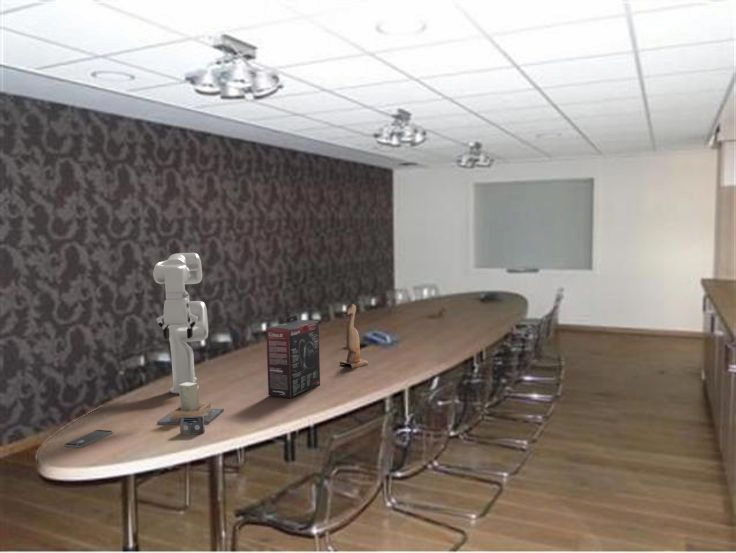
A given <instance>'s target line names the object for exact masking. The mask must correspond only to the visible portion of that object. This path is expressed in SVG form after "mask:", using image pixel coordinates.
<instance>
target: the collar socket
mask: <svg viewBox="0 0 736 553" xmlns="http://www.w3.org/2000/svg"><path fill="white" fill-rule="evenodd" d="M211 404H212V403H211V402H199V407H200V409H199V410H198V411H181V405H180V404H179V405H178V406H177V407H174V409H172V410H171V411H170V412H169V413H167V414H166V415H164V416H163V417H161V418H160V419H158V420H157V421H156V423H157V425H180V417H192V416H204V425H209V424H210V423H212V422H213V421H214V420H215V419H216V418H218V417H219V416H220V415H221V414H222V413H223V412H224V411H225V409H224V408H212V405H211Z"/></svg>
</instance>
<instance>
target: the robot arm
mask: <svg viewBox="0 0 736 553" xmlns="http://www.w3.org/2000/svg"><path fill="white" fill-rule="evenodd" d="M202 267H203V266H202V261H201V257H200V255H199V254H198V253H196V252H180V253H179V252H178V253H177V252H176V253H173V254H171V255H169V257H168V259H166V260H163V261H159V262H157V263H156V264H154V268H153V274H152V276H153V279H154V281H155V283H157V284H161V285H162V284H164V285H165V300H164V304H163V314H162V315H160V316H158V317H156V322H157V323H158V326H160V328H161V329H162V331H163V337H164V339H165V340H169V345H170V353H171V354H170V355H171V367H172V368H171V370H172V387H171V388H170V389H169V392H170V393H171V394H174V395H175V394H176V395H178V394H179V384H182V383H186V382H191V383H196V381H198V378H197V377H196V374H195V359H194V350H193V348H192V347H191V345H190V344H188V343H189V342H199V341H200V342H201V341H205V340H206V339H207V338H208V337H209V323H208V322H209V321H208V320H209V319H208V310H207V306H206V303H205V302H204V301H201V300H194V301H193V300H190V294H189V293H188V291H187V290H186V286H185V285H196V284H200V283H201V282H202V279H203V268H202ZM162 320H163V321H162ZM199 389H200V386H199V385H198V390H199ZM179 395H180V394H179Z"/></svg>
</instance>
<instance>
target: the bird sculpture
mask: <svg viewBox="0 0 736 553" xmlns="http://www.w3.org/2000/svg"><path fill="white" fill-rule="evenodd" d="M356 312H357V306H356V304H354V303H352V304H351V305H350V307H349V308H348V309H347V311H346V316H349V319H348V322H347V326H346V333H345V335H346V337H345V339H346V342H345V343H346V349H347V351H348V352H347V356H346V360H345V359H344V360H341V361H339V365H340V366H342V365H346V364H348V365H350V366H351V369H355V368H360V367H364V366H369V361H368V360H367V359H363V358H361V353H360V352H361V348H360V347H361V346H360V335H359V332H358V330H357V328H355V326H354V325H355V316H356Z"/></svg>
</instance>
